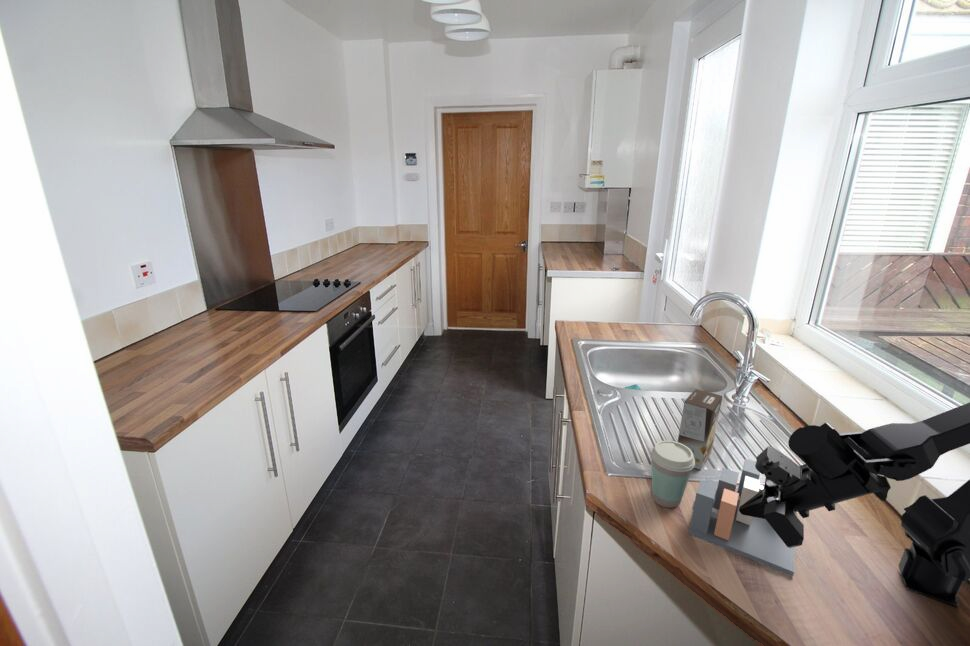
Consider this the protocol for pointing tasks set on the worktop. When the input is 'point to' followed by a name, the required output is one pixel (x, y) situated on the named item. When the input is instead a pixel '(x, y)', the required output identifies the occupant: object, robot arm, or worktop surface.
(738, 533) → the grey slotted base
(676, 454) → the coffee cup
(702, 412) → the coffee box
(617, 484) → the worktop surface
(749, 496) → the ivory key
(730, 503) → the terracotta key
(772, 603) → the worktop surface
